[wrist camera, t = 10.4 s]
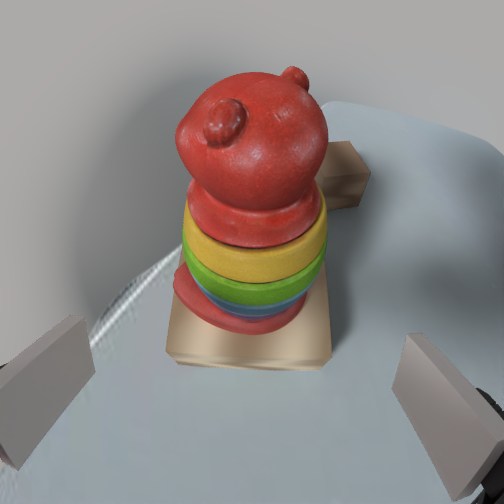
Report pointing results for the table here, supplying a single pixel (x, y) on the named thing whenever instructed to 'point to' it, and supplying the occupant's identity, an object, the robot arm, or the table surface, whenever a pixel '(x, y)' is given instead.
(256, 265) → the stacking bear
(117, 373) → the table surface
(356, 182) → the walnut cube
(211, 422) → the table surface
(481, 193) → the table surface
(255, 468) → the table surface
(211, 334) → the maple block
